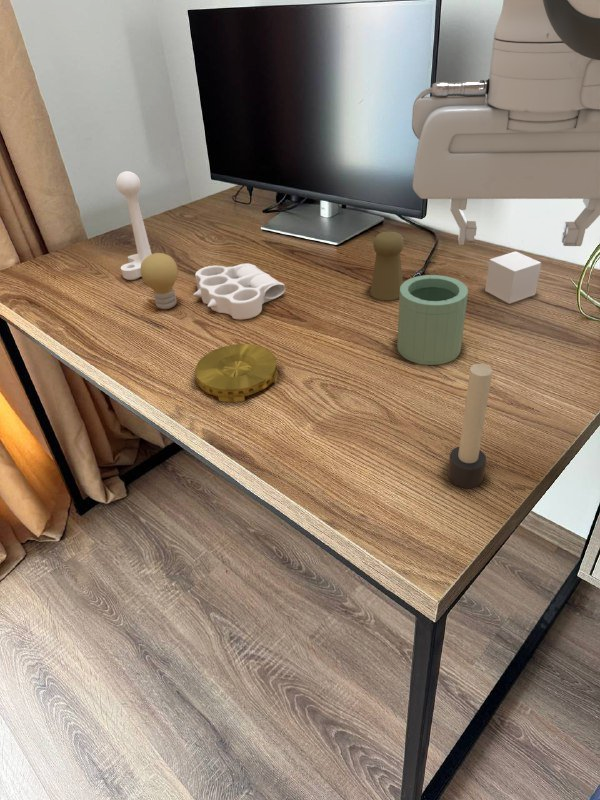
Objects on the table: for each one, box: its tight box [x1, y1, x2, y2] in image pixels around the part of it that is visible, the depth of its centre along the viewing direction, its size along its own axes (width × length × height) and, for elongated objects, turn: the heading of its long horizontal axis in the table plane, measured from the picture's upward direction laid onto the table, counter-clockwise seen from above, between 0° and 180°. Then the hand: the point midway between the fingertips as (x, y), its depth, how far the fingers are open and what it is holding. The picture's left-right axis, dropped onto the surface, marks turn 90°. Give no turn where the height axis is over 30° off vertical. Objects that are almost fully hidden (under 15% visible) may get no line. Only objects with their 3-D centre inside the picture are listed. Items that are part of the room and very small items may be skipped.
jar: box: [396, 274, 469, 366], centre depth 88 cm, size 10×10×10 cm
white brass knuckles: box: [192, 262, 287, 321], centre depth 108 cm, size 3×18×15 cm
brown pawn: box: [369, 231, 405, 301], centre depth 103 cm, size 6×6×11 cm
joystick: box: [115, 170, 153, 281], centre depth 113 cm, size 11×8×20 cm
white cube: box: [484, 251, 542, 305], centre depth 102 cm, size 6×6×6 cm
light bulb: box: [140, 252, 179, 310], centre depth 104 cm, size 6×6×10 cm
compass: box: [194, 343, 279, 403], centre depth 87 cm, size 12×12×2 cm
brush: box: [447, 363, 493, 489], centre depth 64 cm, size 4×4×15 cm
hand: (517, 243), depth 55 cm, fingers open, 8 cm apart
